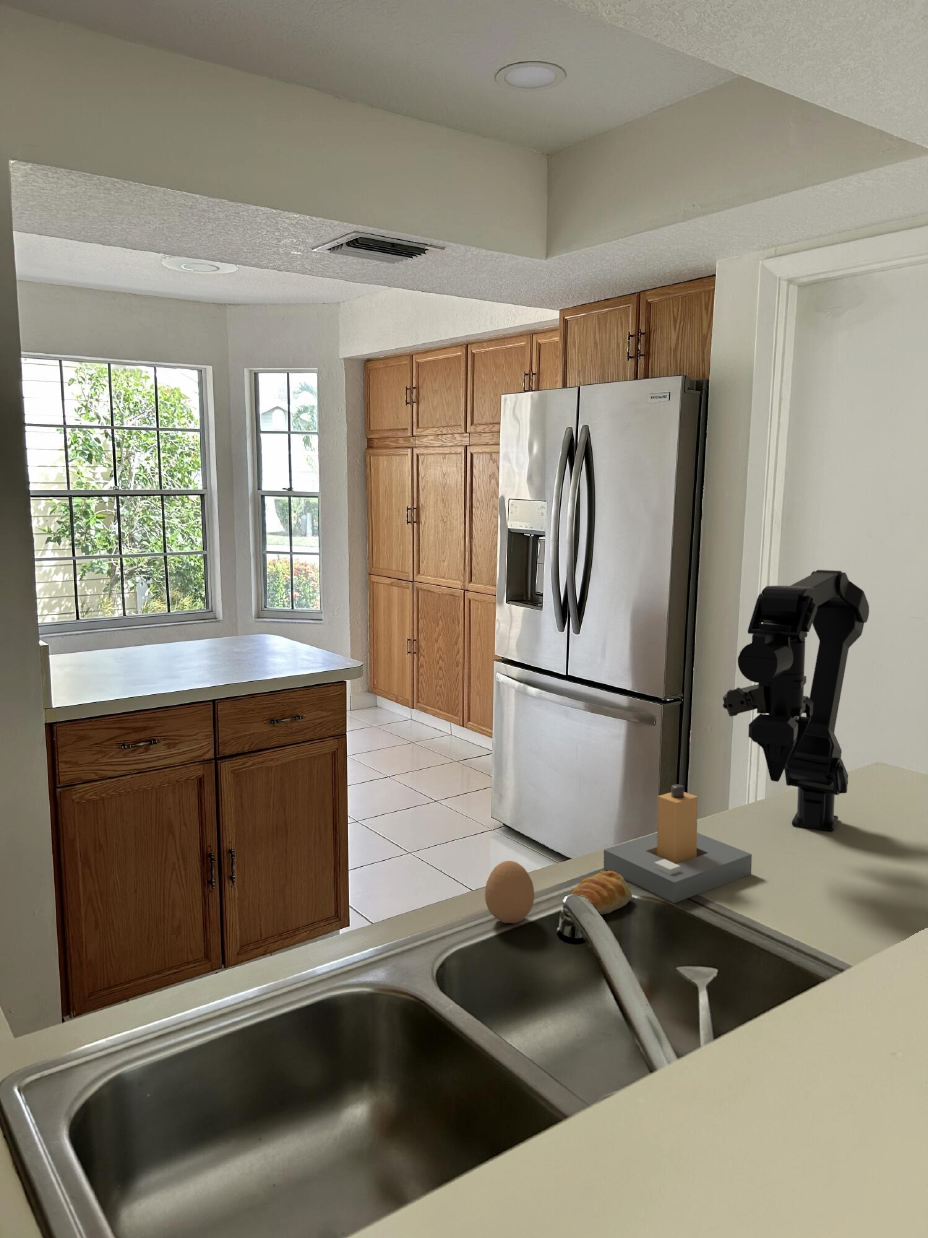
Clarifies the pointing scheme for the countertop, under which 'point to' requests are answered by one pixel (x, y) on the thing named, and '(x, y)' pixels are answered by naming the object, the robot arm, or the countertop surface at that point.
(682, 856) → the plug
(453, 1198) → the countertop surface
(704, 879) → the socket
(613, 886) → the pastry
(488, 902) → the egg
